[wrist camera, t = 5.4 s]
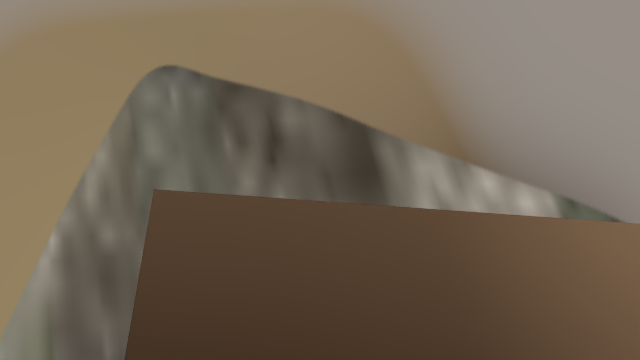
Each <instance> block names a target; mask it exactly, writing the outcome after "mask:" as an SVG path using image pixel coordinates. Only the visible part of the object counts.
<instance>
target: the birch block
mask: <svg viewBox="0 0 640 360" xmlns="http://www.w3.org/2000/svg"><path fill="white" fill-rule="evenodd" d="M125 360H640V224H634V223H620V222H606V221H592V220H578V219H564V218H550V217H535V216H521V215H507V214H493V213H479V212H465V211H451V210H437V209H423V208H409V207H395V206H381V205H367V204H352V203H338V202H324V201H310V200H296V199H282V198H268V197H254V196H240V195H226V194H212V193H198V192H184V191H170V190H155V189H154V193H153V198H152V204H151V210H150V216H149V222H148V227H147V233H146V239H145V245H144V250H143V256H142V262H141V268H140V274H139V279H138V285H137V291H136V297H135V302H134V308H133V314H132V320H131V326H130V331H129V337H128V343H127V349H126V354H125Z"/></svg>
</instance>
